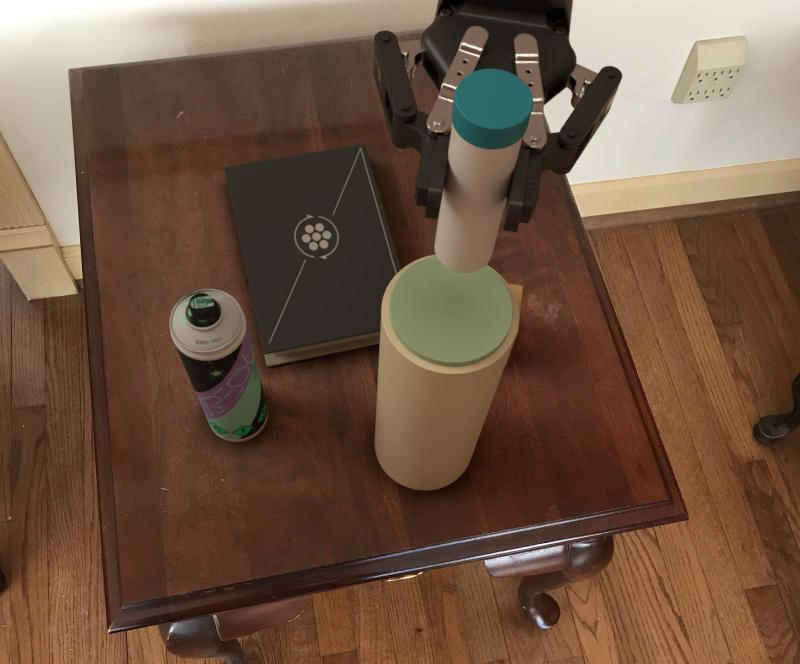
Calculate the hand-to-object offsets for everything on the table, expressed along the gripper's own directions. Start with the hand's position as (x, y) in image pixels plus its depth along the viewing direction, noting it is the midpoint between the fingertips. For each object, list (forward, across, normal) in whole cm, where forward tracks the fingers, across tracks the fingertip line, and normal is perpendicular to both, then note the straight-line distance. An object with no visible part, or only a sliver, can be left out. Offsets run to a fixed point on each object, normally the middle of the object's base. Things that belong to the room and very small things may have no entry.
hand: (473, 214), depth 41 cm
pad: (-2, 0, +13) cm, 13 cm away
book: (-20, -13, +38) cm, 44 cm away
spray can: (-2, -17, +38) cm, 41 cm away
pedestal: (-2, 0, +37) cm, 37 cm away
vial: (-3, 0, +1) cm, 3 cm away
